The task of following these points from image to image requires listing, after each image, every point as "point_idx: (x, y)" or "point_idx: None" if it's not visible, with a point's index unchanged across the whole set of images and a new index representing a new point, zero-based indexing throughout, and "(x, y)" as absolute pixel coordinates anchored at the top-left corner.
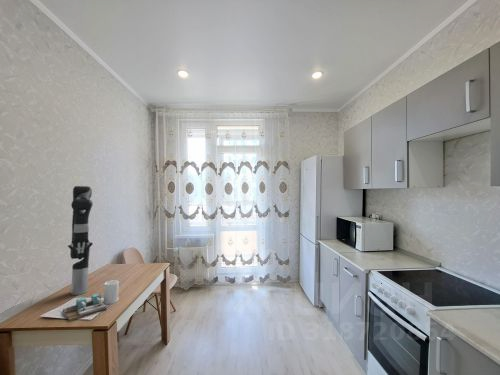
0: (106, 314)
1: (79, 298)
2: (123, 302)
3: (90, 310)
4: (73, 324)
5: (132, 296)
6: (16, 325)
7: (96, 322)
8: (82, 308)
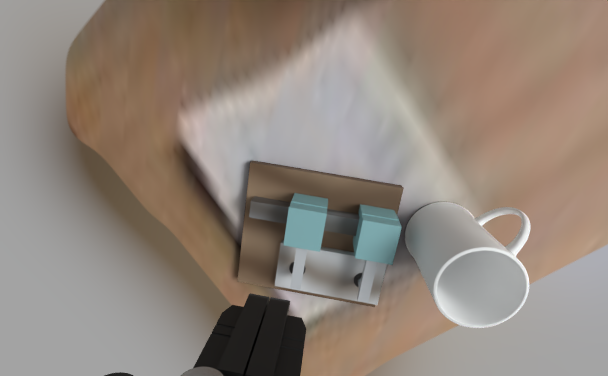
0: (352, 336)
1: (301, 215)
2: None
3: (314, 292)
4: None
5: (535, 273)
6: (99, 140)
7: None
8: None
